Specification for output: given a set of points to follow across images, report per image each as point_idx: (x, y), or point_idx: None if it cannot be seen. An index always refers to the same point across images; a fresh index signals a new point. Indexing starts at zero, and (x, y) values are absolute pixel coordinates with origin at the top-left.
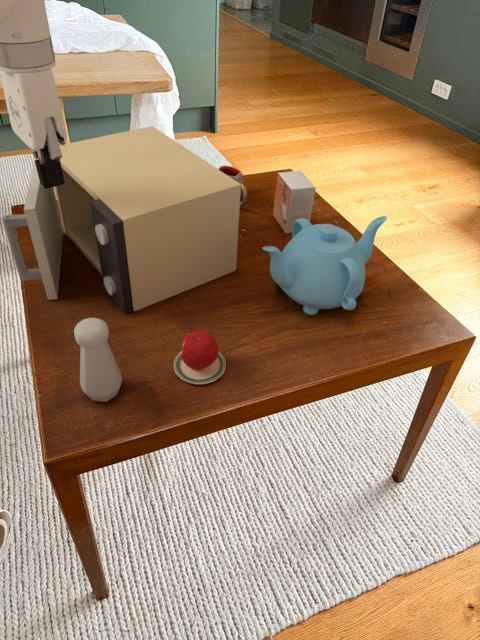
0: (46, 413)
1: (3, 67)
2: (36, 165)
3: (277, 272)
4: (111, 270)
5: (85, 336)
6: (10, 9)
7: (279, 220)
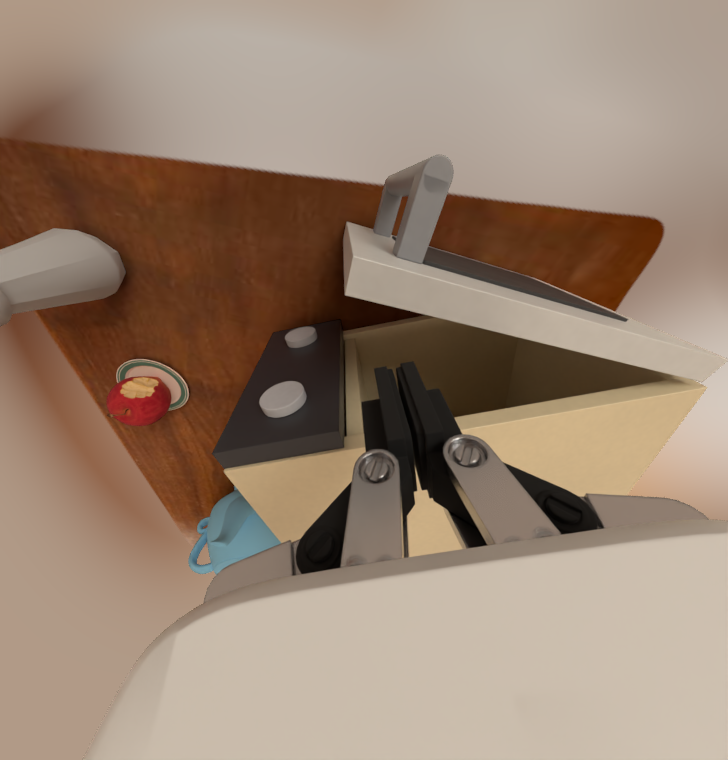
0: (33, 148)
1: None
2: (426, 414)
3: (225, 515)
4: (291, 358)
5: None
6: None
7: None
